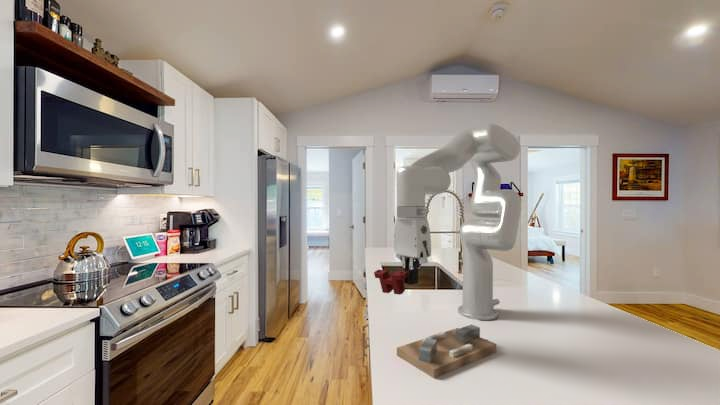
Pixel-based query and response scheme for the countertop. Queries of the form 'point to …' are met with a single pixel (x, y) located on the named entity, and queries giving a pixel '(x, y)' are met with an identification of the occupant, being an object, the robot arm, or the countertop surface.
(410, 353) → the jig
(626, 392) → the countertop surface
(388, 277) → the bracket
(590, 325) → the countertop surface
